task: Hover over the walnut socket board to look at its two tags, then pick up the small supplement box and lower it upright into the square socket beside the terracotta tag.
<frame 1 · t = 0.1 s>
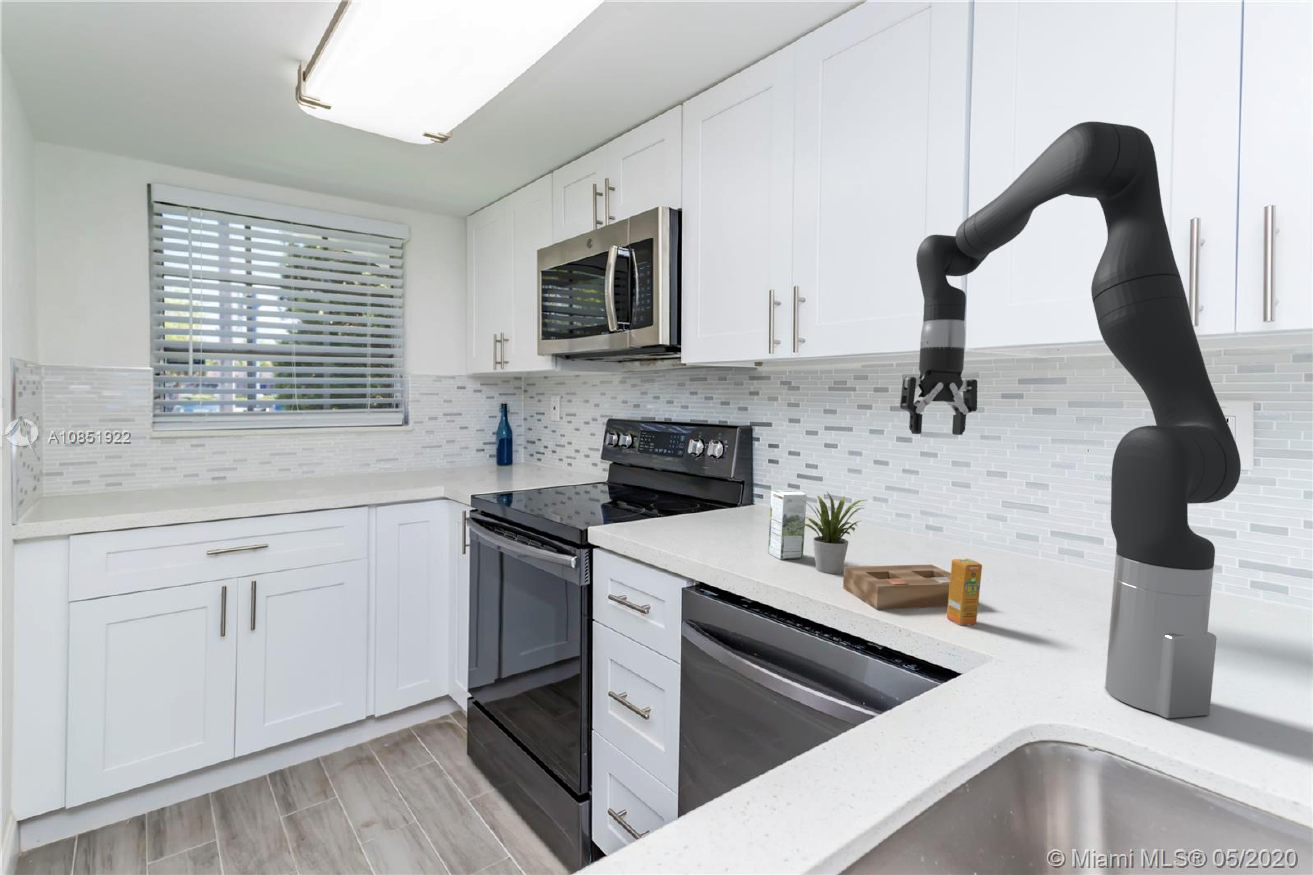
hand: (937, 434, 120), 29 cm above the table, tool pointing down, fingers open, 8 cm apart
supplement box: (962, 623, 104), on the table
syrup box: (785, 557, 142), on the table
socket board: (905, 596, 116), on the table
house plant: (835, 571, 132), on the table
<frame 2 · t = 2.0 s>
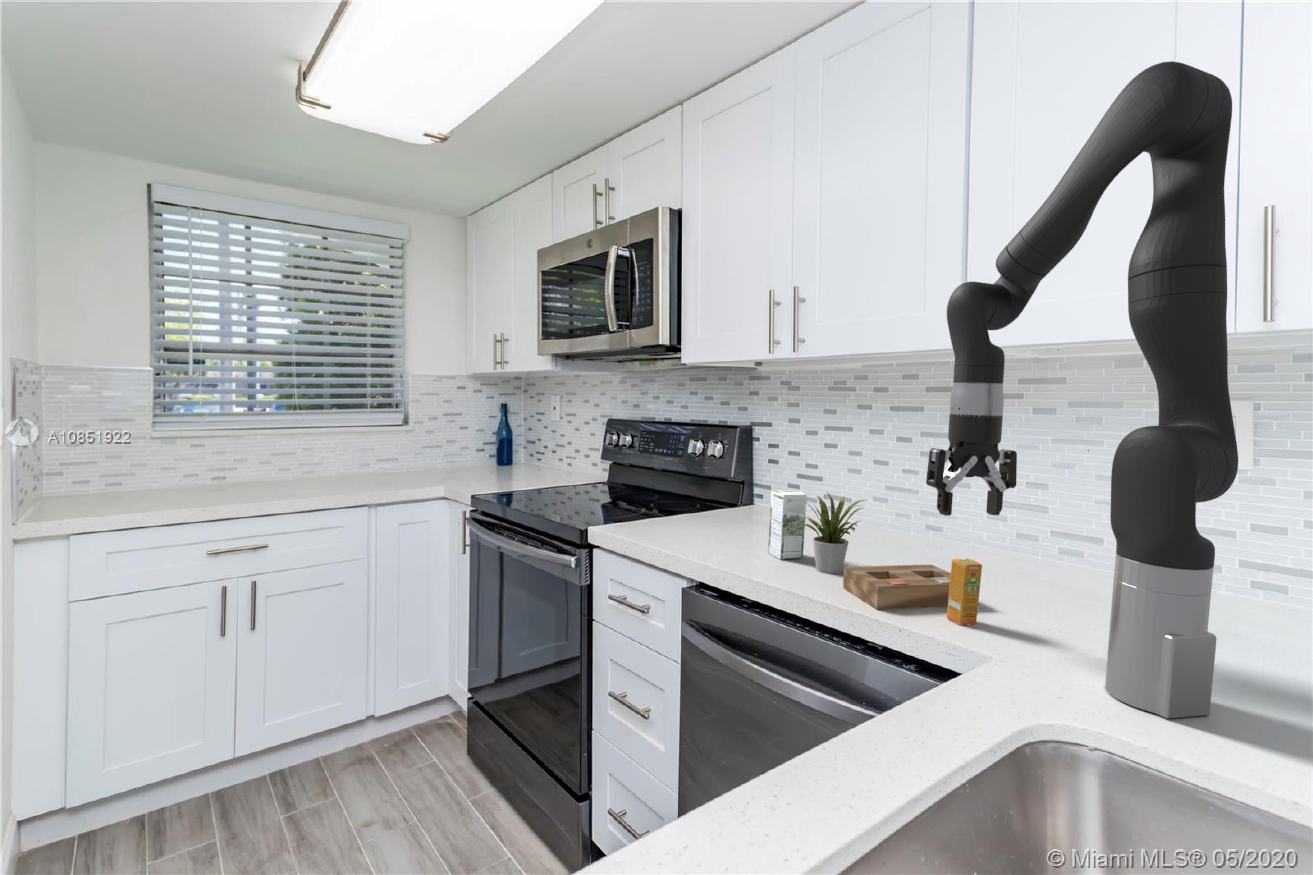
hand: (969, 514, 102), 17 cm above the table, tool pointing down, fingers open, 8 cm apart
nothing on the table moved.
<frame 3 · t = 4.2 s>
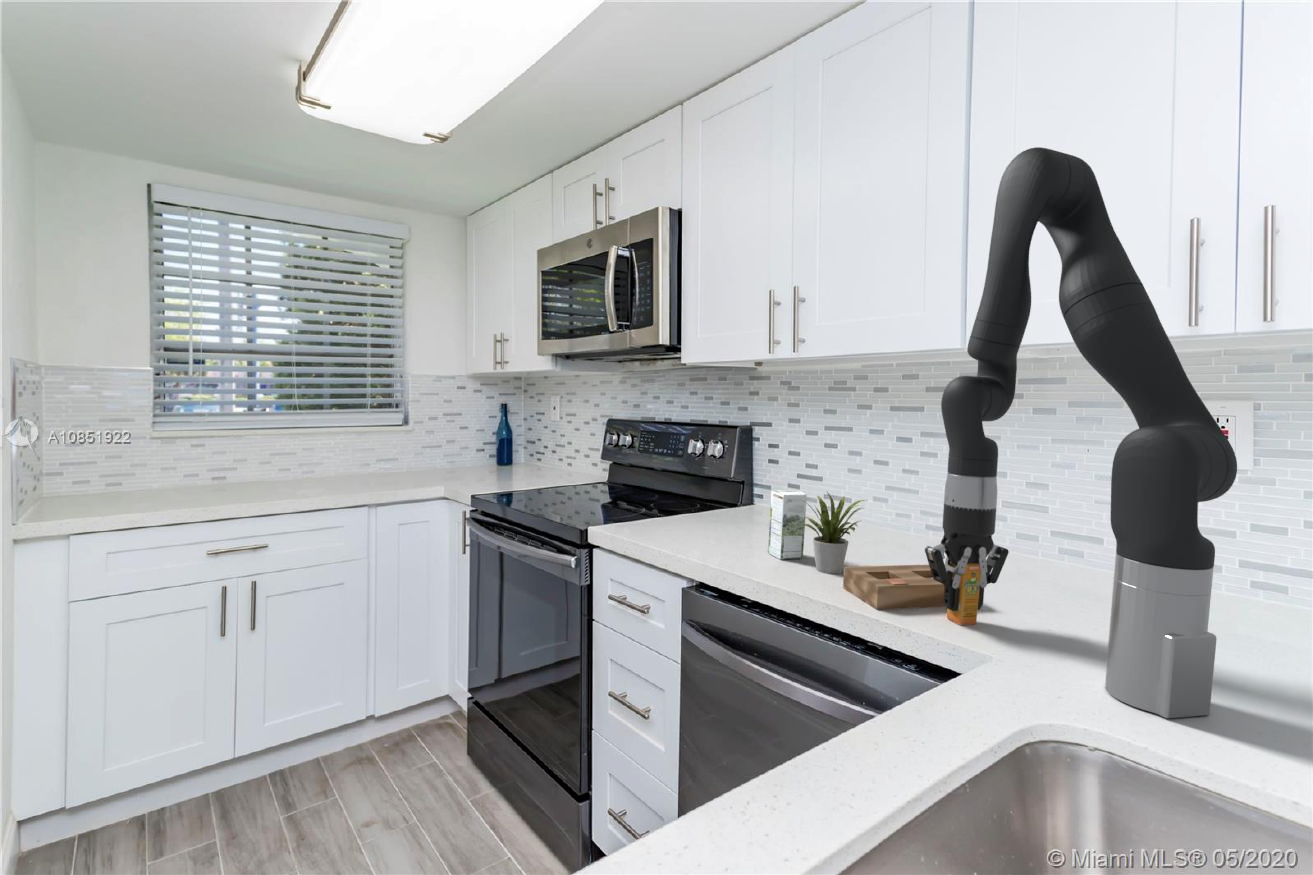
hand: (963, 608, 104), 2 cm above the table, tool pointing down, fingers closed on supplement box, 3 cm apart
supplement box: (962, 623, 104), on the table, touching gripper
everything else where it was.
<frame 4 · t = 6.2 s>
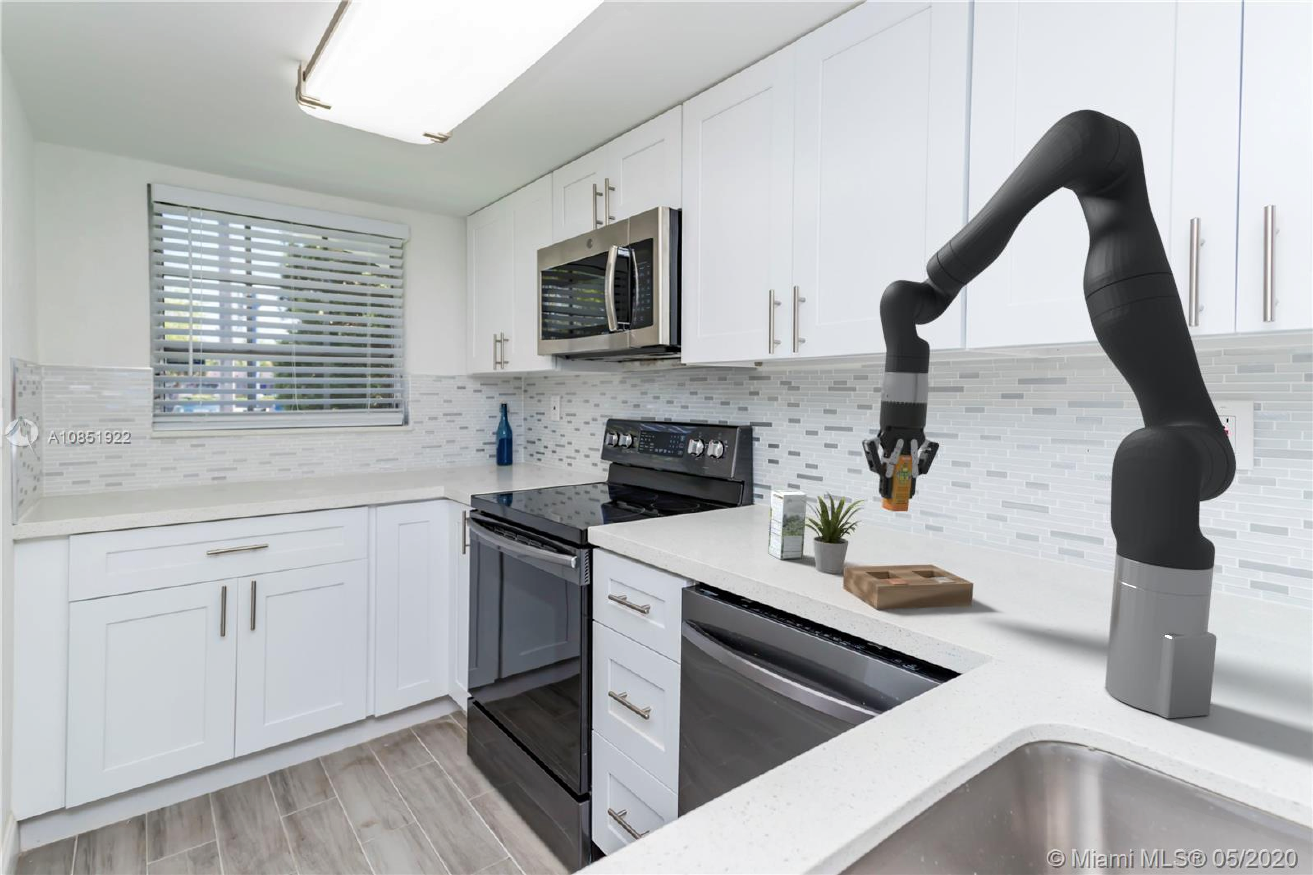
hand: (896, 497, 113), 18 cm above the table, tool pointing down, fingers closed on supplement box, 3 cm apart
supplement box: (895, 511, 113), point 16 cm above the table, touching gripper
everything else where it was.
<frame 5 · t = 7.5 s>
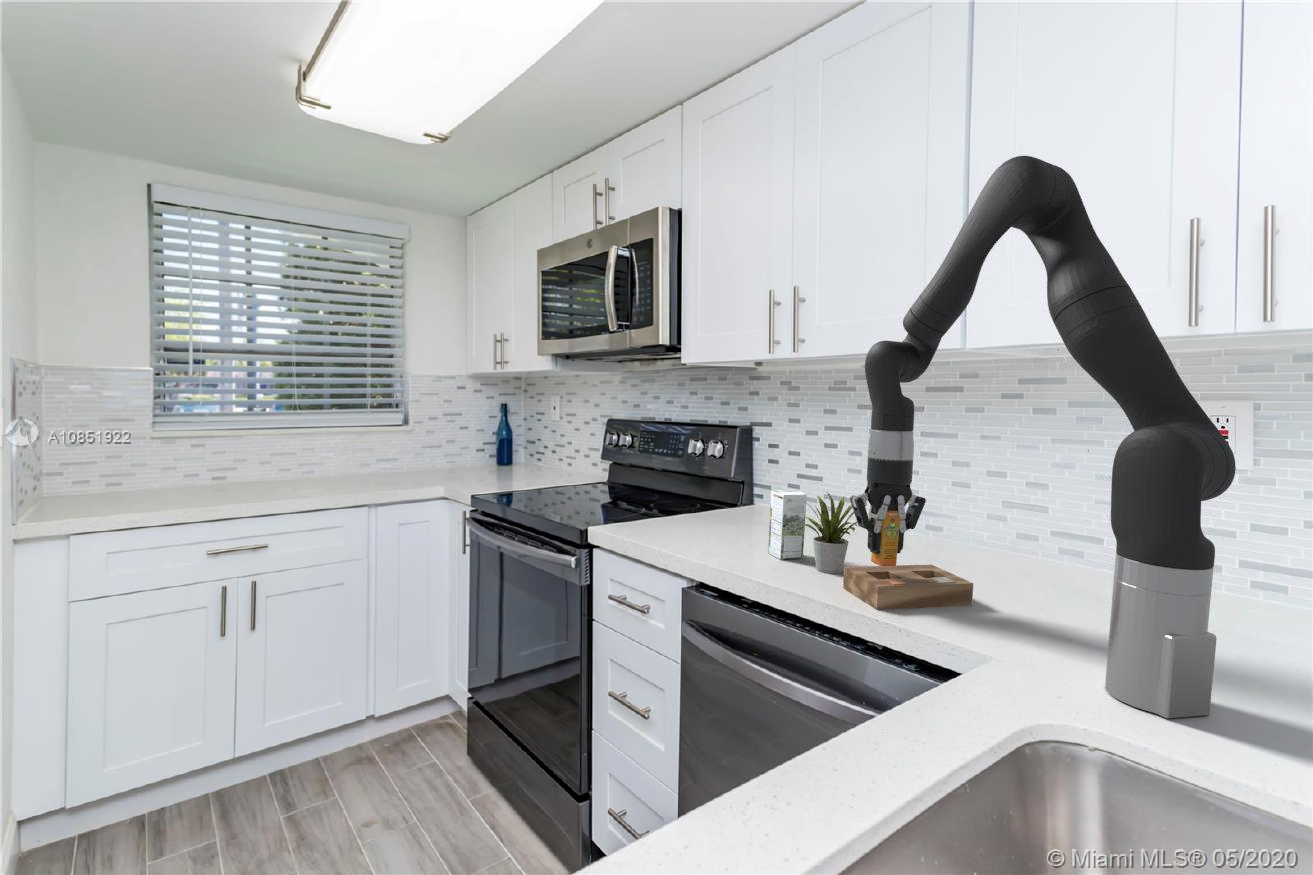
hand: (885, 552, 115), 8 cm above the table, tool pointing down, fingers closed on supplement box, 3 cm apart
supplement box: (884, 565, 115), point 6 cm above the table, touching gripper
everything else where it was.
when the fingers open (5 cm above the table, at t = 8.4 s): supplement box drops 3 cm, resting in socket board.
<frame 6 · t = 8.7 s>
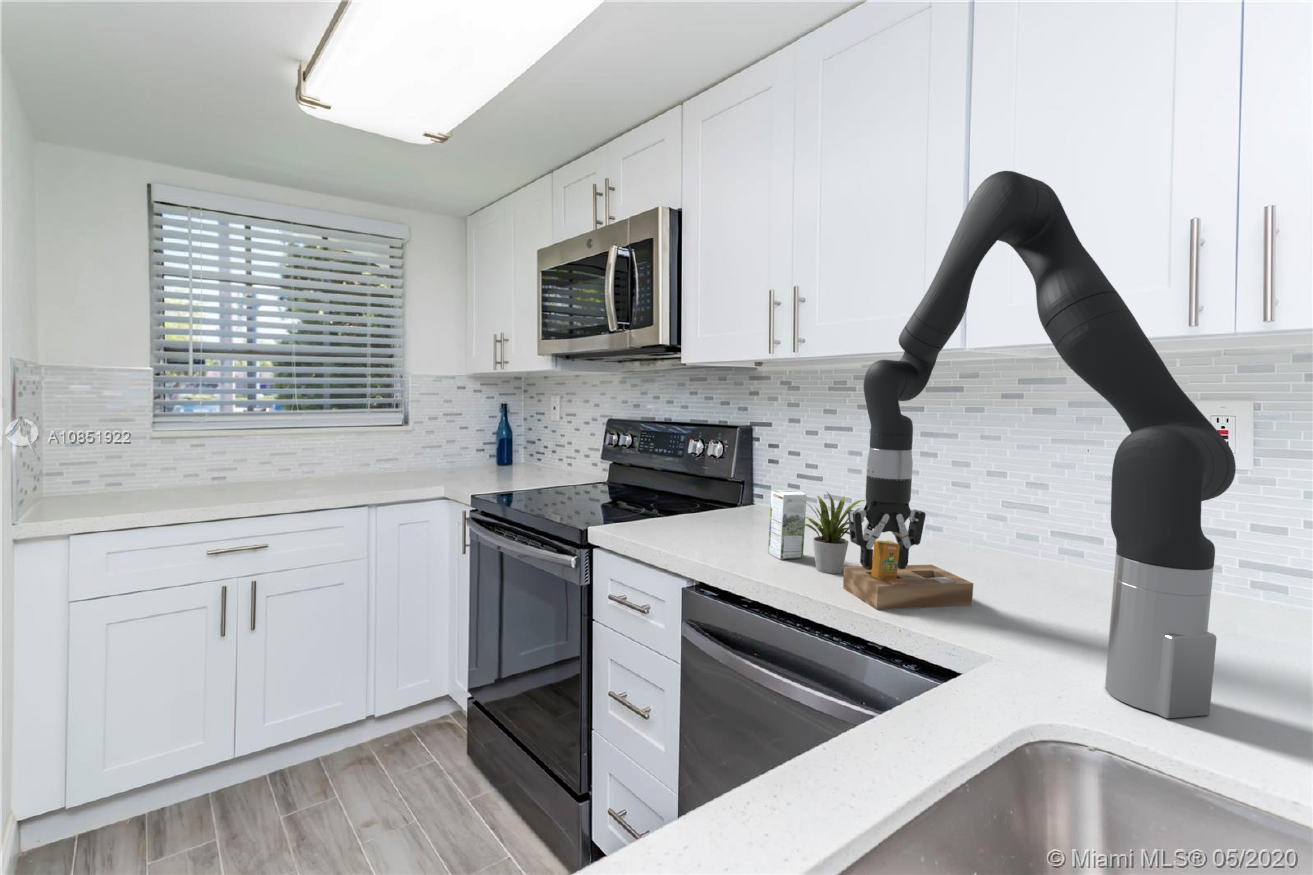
hand: (883, 568, 115), 5 cm above the table, tool pointing down, fingers open, 6 cm apart
supplement box: (882, 598, 115), resting in socket board
everything else where it was.
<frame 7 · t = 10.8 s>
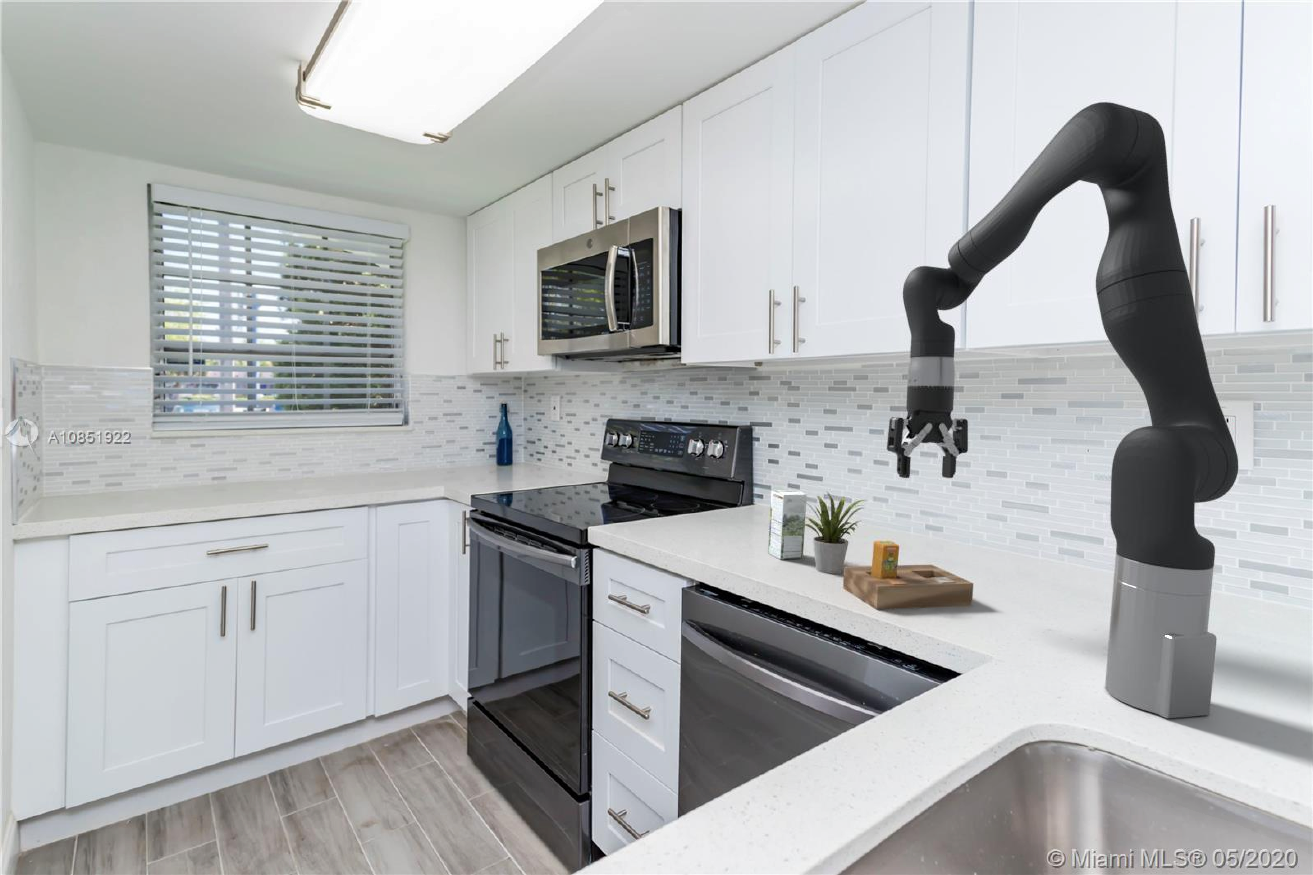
hand: (926, 477, 113), 22 cm above the table, tool pointing down, fingers open, 8 cm apart
nothing on the table moved.
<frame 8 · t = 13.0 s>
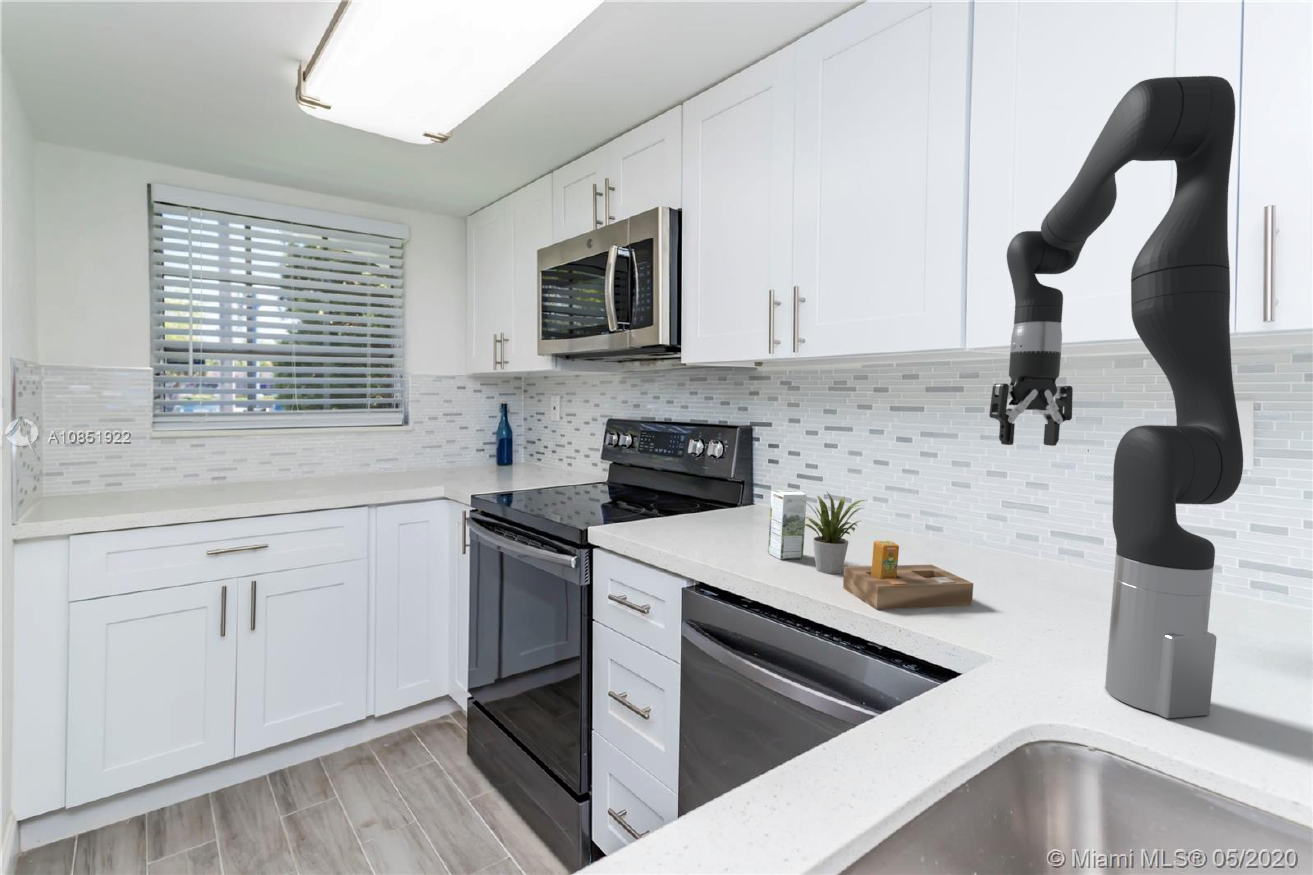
hand: (1028, 445, 112), 28 cm above the table, tool pointing down, fingers open, 8 cm apart
nothing on the table moved.
at the end: supplement box 0.1 cm from the target spot on the socket board, point 0.0 cm above the socket board's base; supplement box tilted 0°; the gripper is holding nothing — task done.
